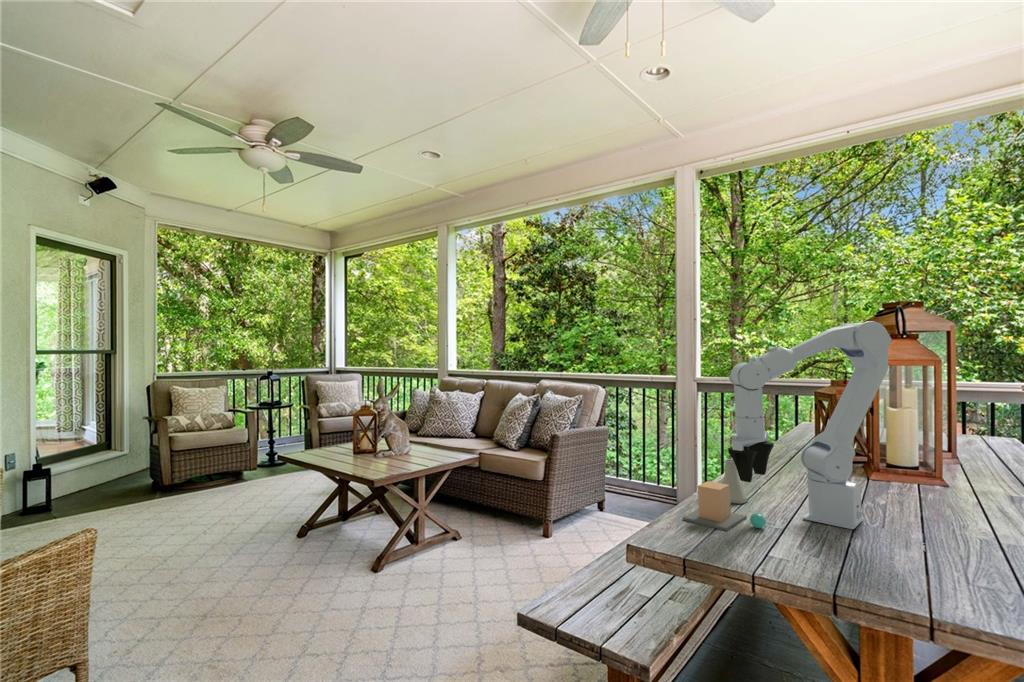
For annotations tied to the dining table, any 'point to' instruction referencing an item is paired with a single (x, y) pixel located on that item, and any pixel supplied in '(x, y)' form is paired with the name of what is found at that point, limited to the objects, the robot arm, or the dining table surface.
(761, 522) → the ball
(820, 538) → the dining table surface
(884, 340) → the robot arm
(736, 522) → the mat
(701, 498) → the light orange block
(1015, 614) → the dining table surface
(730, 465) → the flask
